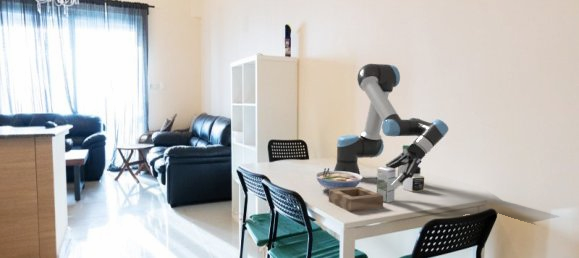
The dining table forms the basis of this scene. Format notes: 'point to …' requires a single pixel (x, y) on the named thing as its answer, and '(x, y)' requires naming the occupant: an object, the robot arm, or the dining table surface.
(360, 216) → the dining table surface
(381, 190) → the syrup box
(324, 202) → the dining table surface
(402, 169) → the milk bottle
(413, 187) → the medicine bottle
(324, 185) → the ramen bowl
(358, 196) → the walnut holder
